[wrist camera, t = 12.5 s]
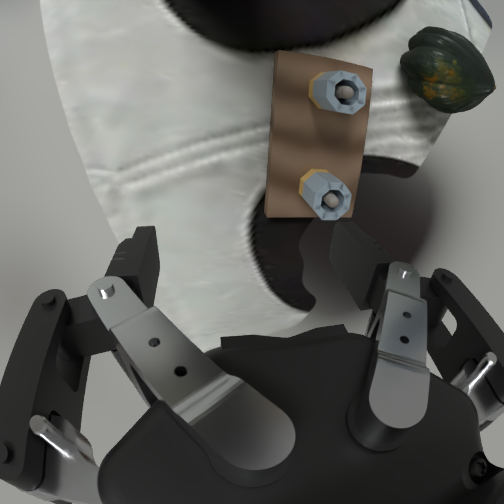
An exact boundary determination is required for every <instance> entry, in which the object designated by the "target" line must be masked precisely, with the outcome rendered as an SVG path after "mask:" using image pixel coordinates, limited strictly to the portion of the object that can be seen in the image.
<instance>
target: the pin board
mask: <svg viewBox="0 0 504 504" xmlns="http://www.w3.org/2000/svg"><path fill="white" fill-rule="evenodd" d="M339 70H341V71H346V72H350V73H354V74H357V75H358V77H359V78H360V79H361V81H362V82H363V84H364V85H365V87H366V88H367V90H366V100H365V105H364V106H363V107H362V108H360V109H359V110H358V111H357V112H355V113H354V114H353V115H352V114H347V113H341V112H335V111H330V110H324V109H319V108H317V106H316V105H315V104H314V103H313V101H312V100H311V99H310V98H309V96H308V93H309V81H310V80H312V79H313V78H314V77H316V76H317V75H318V74H320V73H321V72H329V71H339ZM372 74H373V69H371V68H368V67H364V66H360V65H357V64H353V63H349V62H344V61H340V60H336V59H331V58H326V57H321V56H316V55H310V54H304V53H297V52H290V51H282V50H278V51H276V52H275V59H274V75H273V91H272V107H271V122H270V137H269V152H268V166H267V180H266V194H265V208H264V213H265V215H266V217H267V218H271V217H319V216H318V215H317V214H316V212H315V211H314V210H313V209H312V208H311V207H310V205H309V204H308V203H307V202H306V201H305V200H304V198H303V197H302V196H301V195H300V194H299V186H300V178H302V177H303V176H304V175H305V174H306V173H307V172H309V171H310V170H311V169H323V170H327V171H328V172H329V173H331V174H332V175H334V176H335V177H336V178H338V179H339V180H341V181H342V182H343V183H344V184H345V186H346V187H347V188H348V190H349V191H350V193H351V194H352V196H351V201H350V206H349V210H348V211H347V212H346V213H344V214H343V215H342V216H341V217H352V212H353V208H354V203H355V198H356V192H357V187H358V182H359V176H360V171H361V165H362V158H363V152H364V145H365V138H366V131H367V123H368V115H369V106H370V97H371V86H372ZM353 95H354V91H353V89H352V88H351V87H349V86H335V94H334V96H335V97H336V98H344V99H350V98H352V97H353ZM322 200H323V201H324V202H325V203H326V204H327V205H328V206H329V207H331V208H335V207H337V206H338V204H339V199H338V198H337V197H336V196H335V195H334V194H333V193H332V192H331V191H330V190H329V191H328V192H327V193H326V194H324V195H323V196H322Z"/></svg>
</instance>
